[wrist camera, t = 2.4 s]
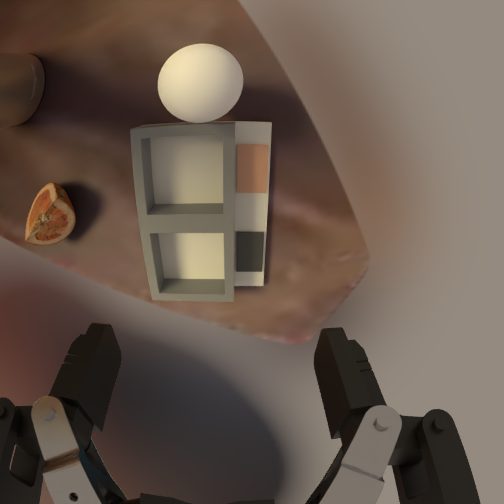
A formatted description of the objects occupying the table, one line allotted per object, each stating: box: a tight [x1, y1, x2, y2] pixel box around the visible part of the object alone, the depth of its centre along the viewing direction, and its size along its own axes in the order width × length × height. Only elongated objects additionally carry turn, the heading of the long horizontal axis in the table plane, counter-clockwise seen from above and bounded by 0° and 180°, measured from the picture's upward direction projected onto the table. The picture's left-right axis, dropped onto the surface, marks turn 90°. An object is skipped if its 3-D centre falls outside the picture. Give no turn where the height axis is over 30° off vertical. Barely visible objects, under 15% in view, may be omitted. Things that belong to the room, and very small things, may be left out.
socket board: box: [130, 121, 272, 302], centre depth 30 cm, size 13×19×4 cm
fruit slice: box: [25, 183, 76, 246], centre depth 28 cm, size 8×7×5 cm
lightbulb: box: [158, 44, 243, 123], centre depth 20 cm, size 6×6×11 cm
